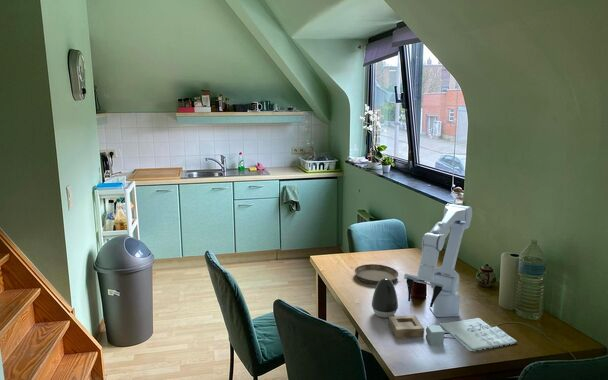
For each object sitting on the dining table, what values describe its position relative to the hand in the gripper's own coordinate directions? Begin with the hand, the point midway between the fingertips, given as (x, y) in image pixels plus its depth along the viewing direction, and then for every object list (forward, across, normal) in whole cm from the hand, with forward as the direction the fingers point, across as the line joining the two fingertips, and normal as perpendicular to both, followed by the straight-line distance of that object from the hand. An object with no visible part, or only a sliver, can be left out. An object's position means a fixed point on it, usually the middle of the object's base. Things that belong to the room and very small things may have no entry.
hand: (419, 304), depth 162 cm
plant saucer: (-2, -21, +52) cm, 56 cm away
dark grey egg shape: (+9, -12, +17) cm, 23 cm away
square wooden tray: (+11, -3, +7) cm, 14 cm away
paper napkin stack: (+7, +22, +12) cm, 26 cm away
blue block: (+12, +8, +3) cm, 14 cm away
